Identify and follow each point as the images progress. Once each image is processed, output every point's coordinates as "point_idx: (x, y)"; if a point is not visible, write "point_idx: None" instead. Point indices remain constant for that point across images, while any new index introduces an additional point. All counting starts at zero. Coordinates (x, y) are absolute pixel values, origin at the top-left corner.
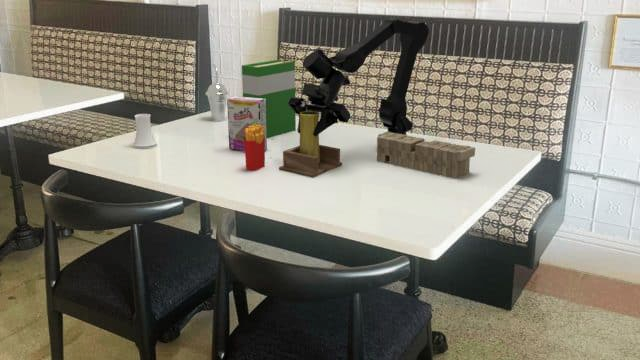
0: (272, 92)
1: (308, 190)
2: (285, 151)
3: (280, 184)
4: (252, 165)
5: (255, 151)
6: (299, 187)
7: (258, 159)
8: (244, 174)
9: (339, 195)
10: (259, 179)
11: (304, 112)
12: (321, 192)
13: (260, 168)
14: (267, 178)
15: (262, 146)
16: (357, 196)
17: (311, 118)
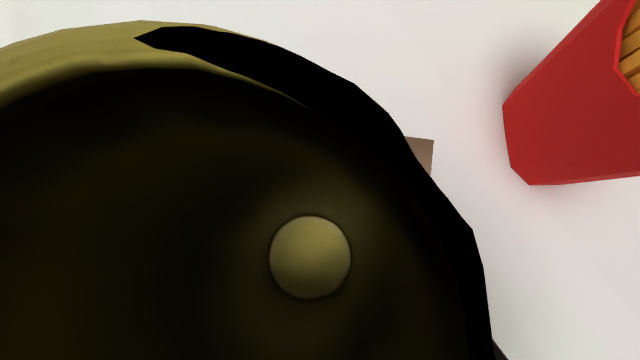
0: None
1: (193, 8)
2: (417, 144)
3: (311, 11)
4: (528, 75)
5: (571, 39)
6: (234, 17)
7: (534, 95)
8: (509, 38)
9: (81, 16)
10: (415, 19)
11: None
12: (145, 12)
13: (505, 131)
14: (394, 41)
15: (595, 106)
16: (24, 35)
17: (42, 156)
